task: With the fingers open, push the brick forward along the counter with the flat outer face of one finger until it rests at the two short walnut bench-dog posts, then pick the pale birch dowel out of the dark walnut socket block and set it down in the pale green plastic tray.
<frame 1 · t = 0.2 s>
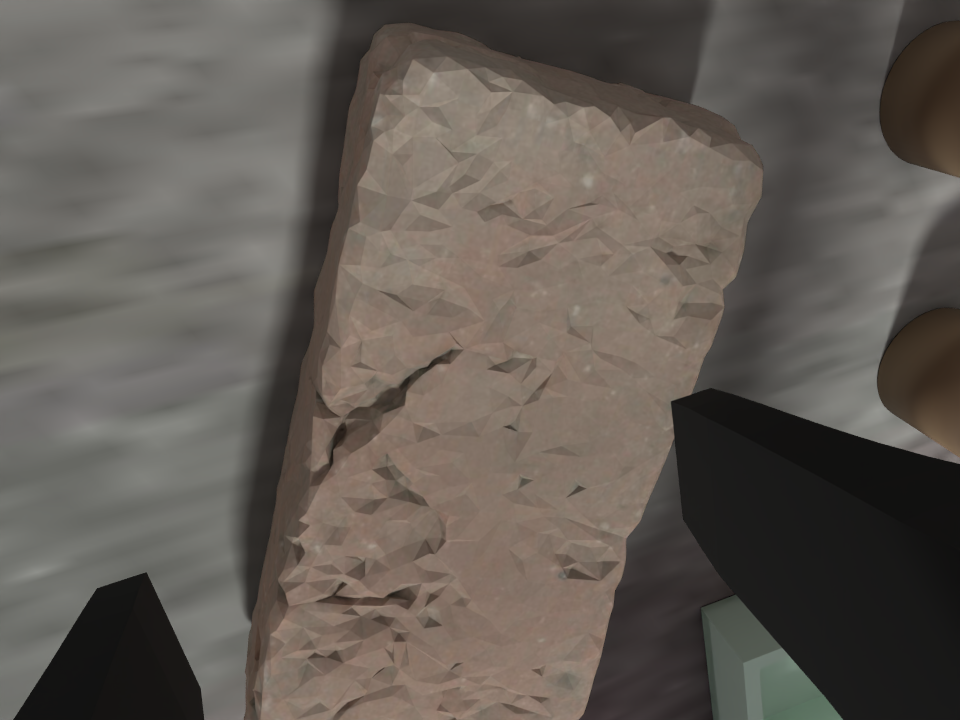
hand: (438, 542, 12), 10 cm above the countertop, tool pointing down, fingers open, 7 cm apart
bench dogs: (934, 239, 25), on the countertop
brick: (446, 383, 23), on the countertop
tray: (813, 632, 30), on the countertop
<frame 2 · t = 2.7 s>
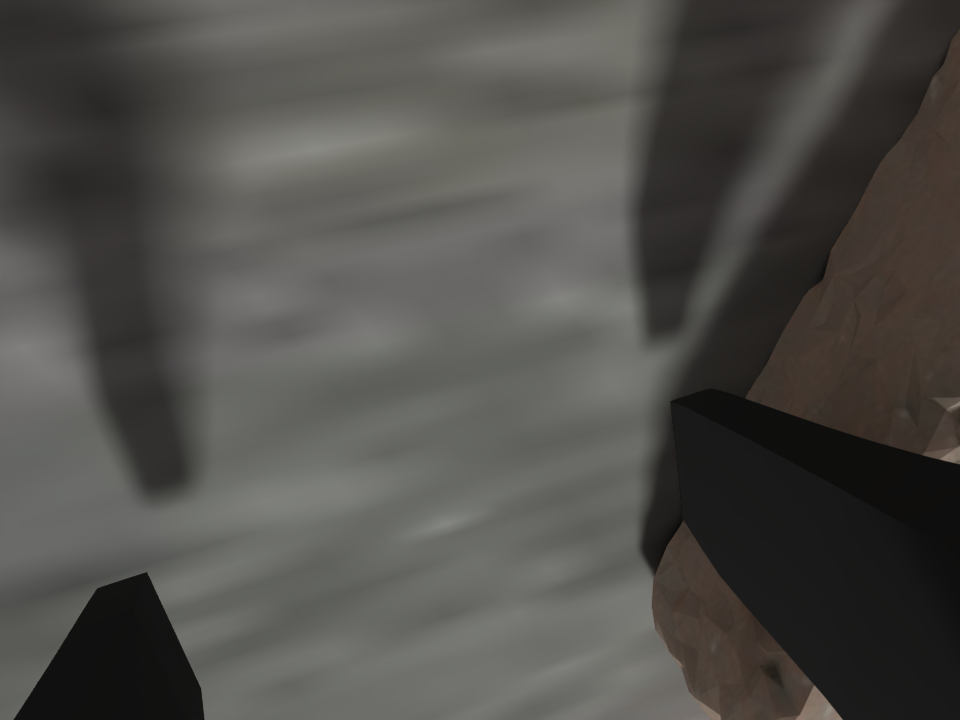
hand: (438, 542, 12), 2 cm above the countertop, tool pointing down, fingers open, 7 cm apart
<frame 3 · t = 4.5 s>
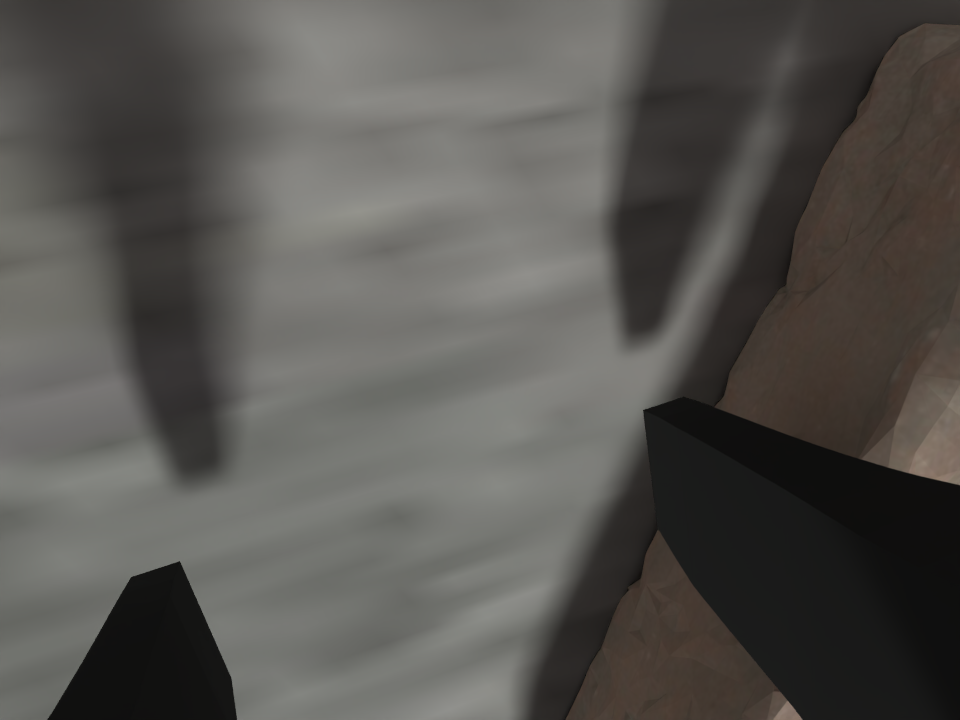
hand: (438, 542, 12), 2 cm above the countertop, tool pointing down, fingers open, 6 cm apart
brick: (823, 514, 17), on the countertop, touching gripper
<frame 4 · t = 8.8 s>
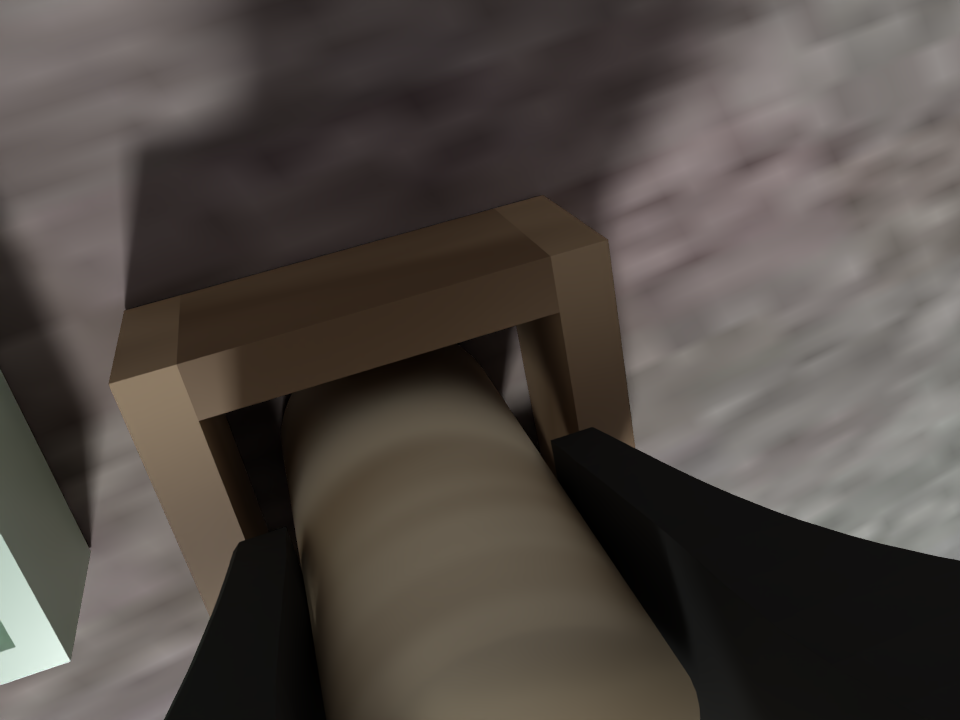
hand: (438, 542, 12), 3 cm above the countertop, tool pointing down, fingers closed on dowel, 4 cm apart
dowel: (443, 557, 12), in the socket block, touching gripper
socket block: (391, 430, 15), on the countertop
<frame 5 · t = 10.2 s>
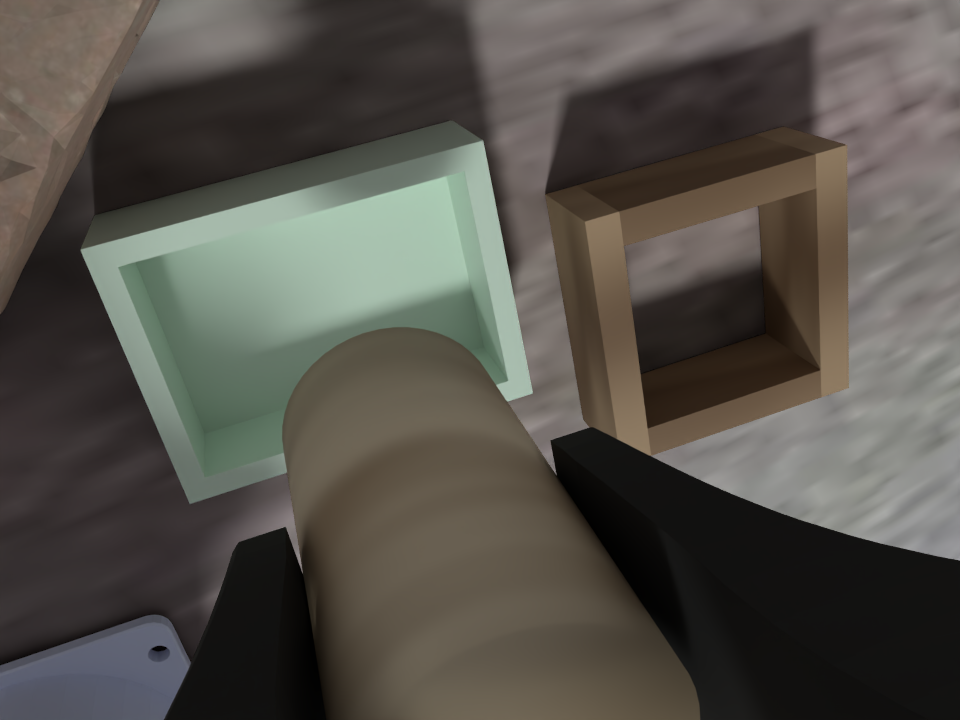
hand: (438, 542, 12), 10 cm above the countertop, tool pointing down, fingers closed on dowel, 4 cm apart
dowel: (443, 555, 12), point 10 cm above the countertop, touching gripper
tray: (317, 289, 21), on the countertop
socket block: (679, 278, 23), on the countertop
when the fingers open (5 cm above the countertop, at t = 11.7 s): dowel stays where it is, resting on tray.
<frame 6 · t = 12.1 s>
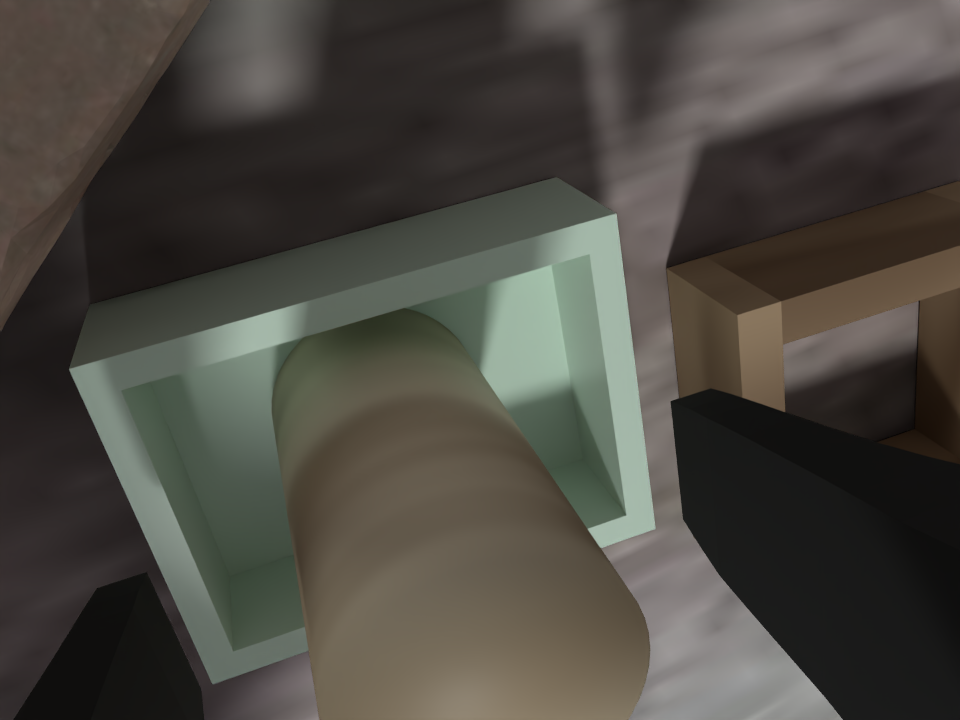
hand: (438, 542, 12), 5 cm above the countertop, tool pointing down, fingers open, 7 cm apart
dowel: (421, 512, 12), in the tray
tray: (376, 391, 16), on the countertop
socket block: (819, 367, 19), on the countertop
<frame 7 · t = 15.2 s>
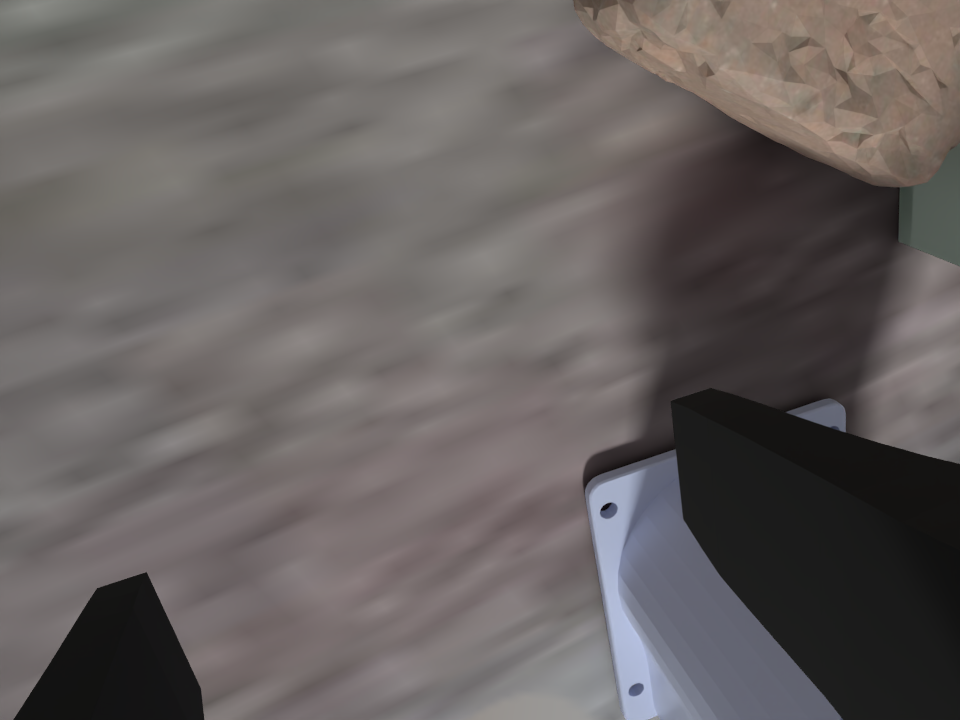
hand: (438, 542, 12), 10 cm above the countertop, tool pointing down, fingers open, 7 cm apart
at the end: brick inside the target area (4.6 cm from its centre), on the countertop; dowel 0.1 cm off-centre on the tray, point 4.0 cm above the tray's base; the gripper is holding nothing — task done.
